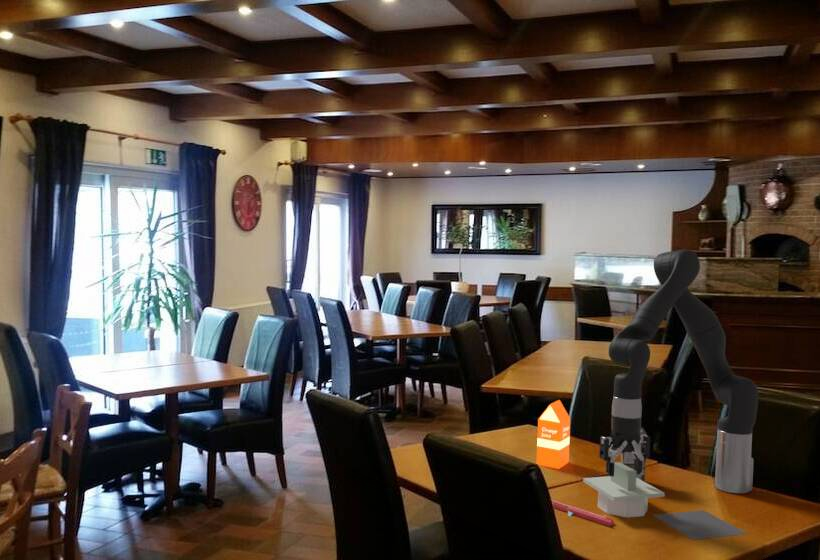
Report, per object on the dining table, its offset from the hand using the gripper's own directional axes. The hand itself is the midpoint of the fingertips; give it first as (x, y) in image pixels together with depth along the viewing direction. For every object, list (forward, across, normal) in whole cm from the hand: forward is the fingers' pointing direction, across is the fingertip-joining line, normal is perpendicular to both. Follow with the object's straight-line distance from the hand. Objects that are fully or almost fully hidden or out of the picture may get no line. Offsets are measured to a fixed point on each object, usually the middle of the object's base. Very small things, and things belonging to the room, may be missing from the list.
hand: (623, 474), depth 192 cm
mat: (+9, -13, +14) cm, 21 cm away
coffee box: (+10, -15, -18) cm, 25 cm away
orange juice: (+10, -1, -41) cm, 42 cm away
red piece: (+10, +15, -1) cm, 18 cm away
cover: (+4, 0, 0) cm, 4 cm away
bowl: (+9, 0, 0) cm, 9 cm away
